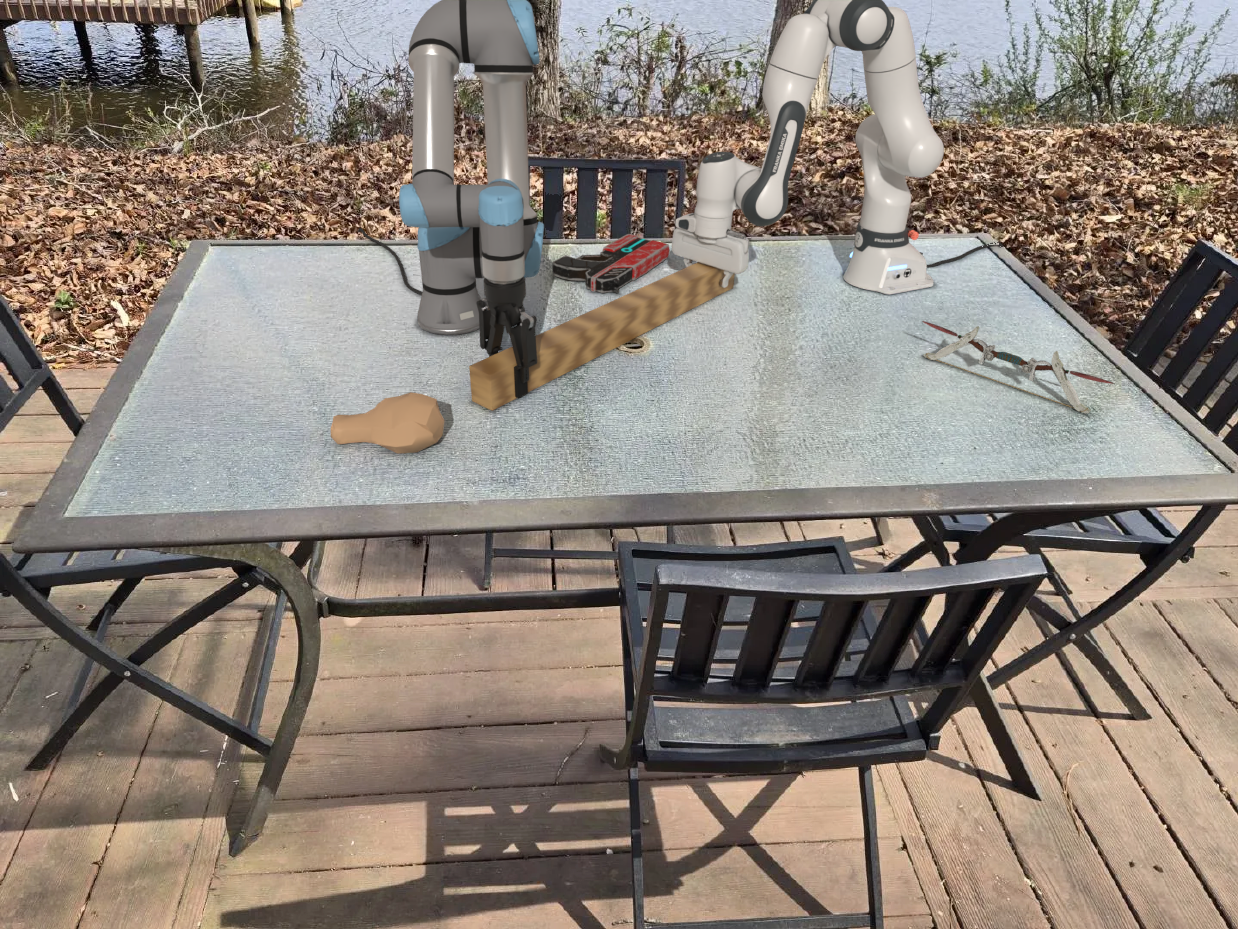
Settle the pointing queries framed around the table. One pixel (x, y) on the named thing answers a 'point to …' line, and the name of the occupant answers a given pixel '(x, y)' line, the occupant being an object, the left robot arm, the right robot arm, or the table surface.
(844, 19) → the right robot arm
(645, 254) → the gun
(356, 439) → the squash
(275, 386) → the table surface
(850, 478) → the table surface
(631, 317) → the bar
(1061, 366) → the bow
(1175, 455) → the table surface
